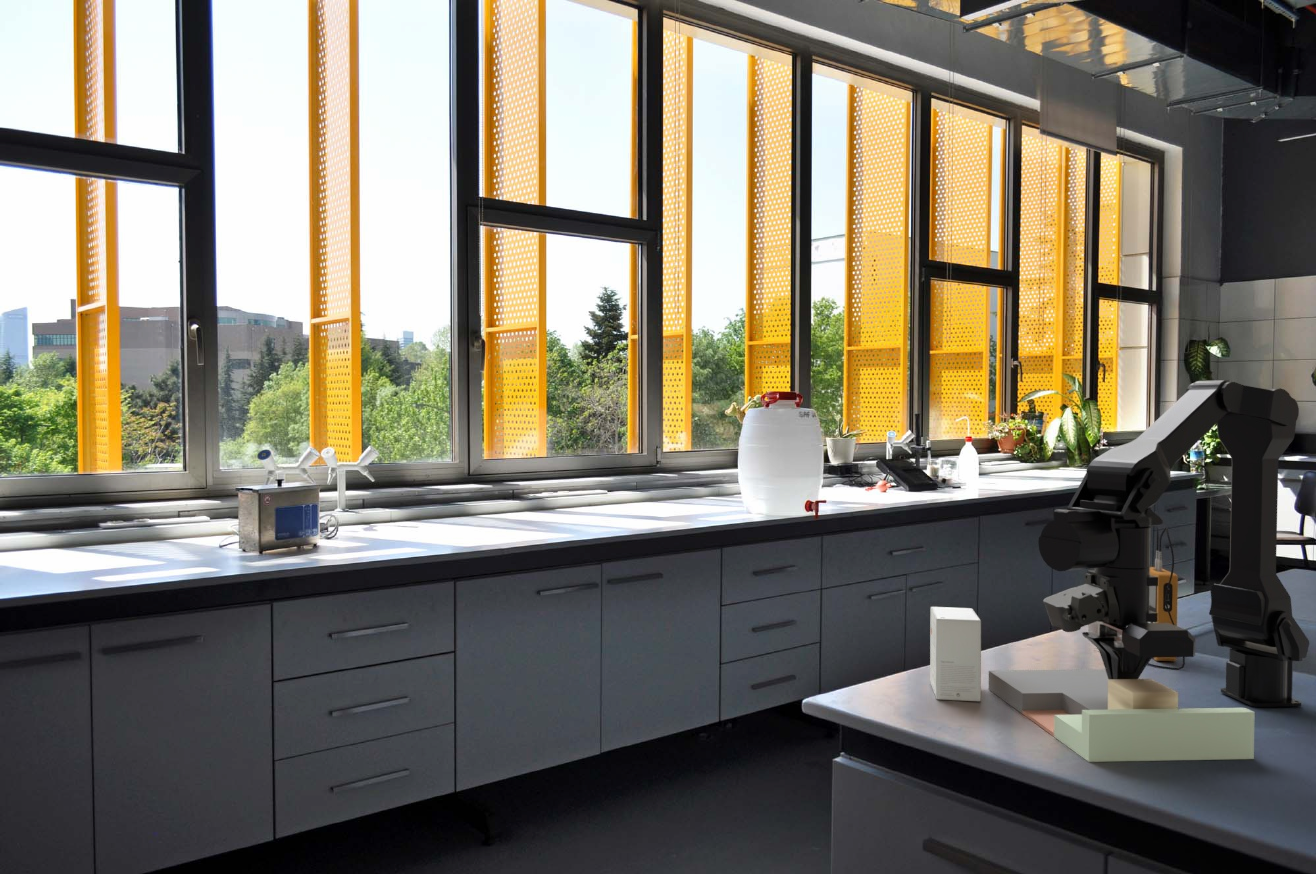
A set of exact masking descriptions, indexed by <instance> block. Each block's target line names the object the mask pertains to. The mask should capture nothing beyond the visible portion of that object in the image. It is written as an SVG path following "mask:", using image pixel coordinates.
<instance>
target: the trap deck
mask: <svg viewBox="0 0 1316 874" xmlns="http://www.w3.org/2000/svg"><path fill="white" fill-rule="evenodd" d="M1138 679H1141V678H1140V677H1139V678H1138ZM988 690H989V691H990V692H992V693H993V694H994V695H996V696H997V697H999V698H1000V699H1001V700H1003V701H1004V702H1005V703H1007V704H1008V705H1009V706H1011V707H1012V708H1013V709H1015V710H1016V711H1017V712H1019V713H1020V714H1022V715H1023V716H1025V717H1026V718H1027V719H1029V720H1030V721H1032V723H1034V724H1036V725H1037V726H1039V728H1041V729H1043V730H1044V731H1045V732H1047V733H1049V734H1050V736H1052V737H1054V738H1055V739H1056V740H1058V741H1059V742H1060V743H1062V744H1063V745H1064V746H1066V747H1068V748H1069V749H1070V750H1072V751H1073V752H1074V753H1076V754H1077V755H1079V756H1080V757H1081V758H1082V759H1084V760H1086V761H1087V762H1088V763H1095V762H1096V763H1097V762H1098V763H1099V762H1101V763H1102V762H1151V761H1153V762H1155V761H1158V762H1159V761H1205V760H1207V761H1210V760H1217V761H1218V760H1219V761H1220V760H1254V759H1255V754H1254V753H1255V718H1256V717H1255V711H1254V710H1251V709H1249V708H1246V707H1210V708H1209V707H1205V708H1203V707H1200V708H1197V707H1196V708H1195V707H1194V708H1193V707H1192V708H1191V707H1190V708H1178V709H1115V710H1108V676H1107V673H1106V670H1105V668H1097V669H1096V668H1095V669H1093V668H1091V669H1089V668H1088V669H1087V668H1086V669H1082V668H1081V669H1018V670H1017V669H1016V670H1014V669H1011V670H1009V669H1008V670H1007V669H1006V670H1005V669H1004V670H1002V669H1001V670H999V669H998V670H988Z"/></svg>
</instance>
